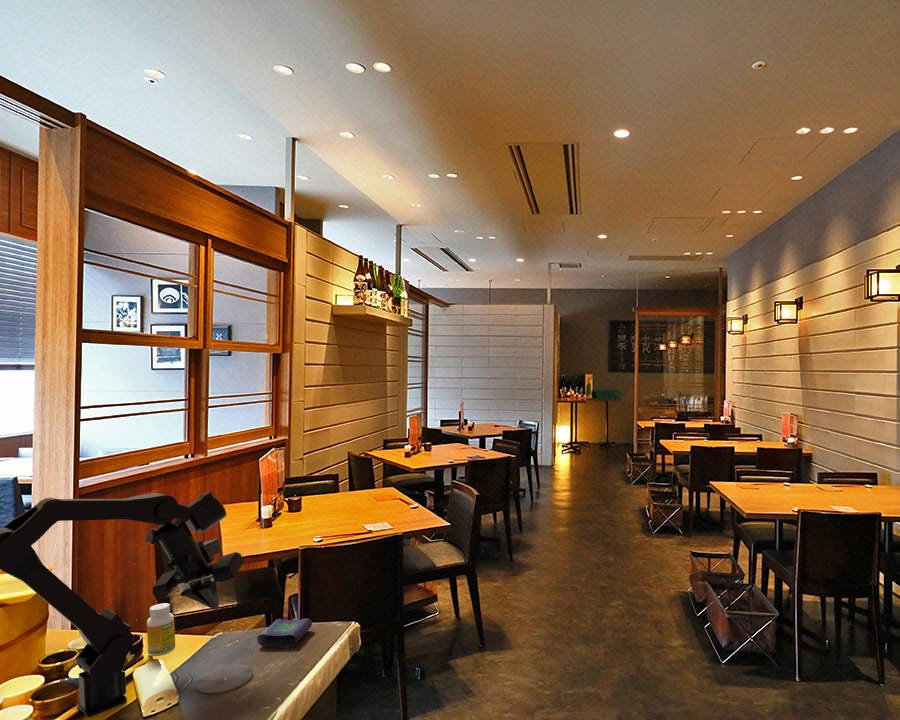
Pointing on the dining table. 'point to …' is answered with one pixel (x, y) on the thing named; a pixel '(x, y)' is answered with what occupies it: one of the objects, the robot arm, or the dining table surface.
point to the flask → (284, 633)
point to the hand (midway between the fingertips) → (216, 607)
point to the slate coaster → (224, 679)
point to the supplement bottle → (160, 630)
